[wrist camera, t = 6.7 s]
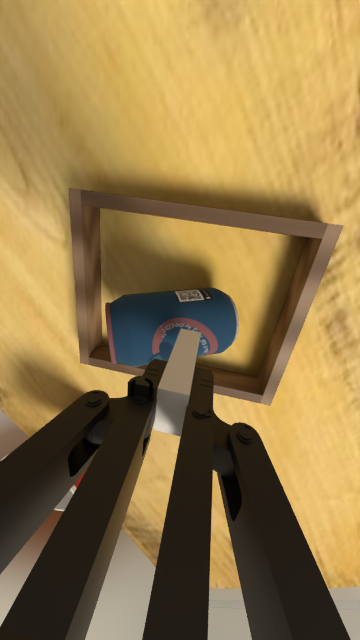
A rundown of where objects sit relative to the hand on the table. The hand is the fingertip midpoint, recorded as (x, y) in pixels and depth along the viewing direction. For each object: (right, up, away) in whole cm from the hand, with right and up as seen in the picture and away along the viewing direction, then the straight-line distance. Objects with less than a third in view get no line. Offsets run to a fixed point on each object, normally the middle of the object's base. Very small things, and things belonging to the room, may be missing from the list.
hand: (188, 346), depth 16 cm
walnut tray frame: (0, +4, +10) cm, 11 cm away
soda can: (+4, +2, +7) cm, 9 cm away
